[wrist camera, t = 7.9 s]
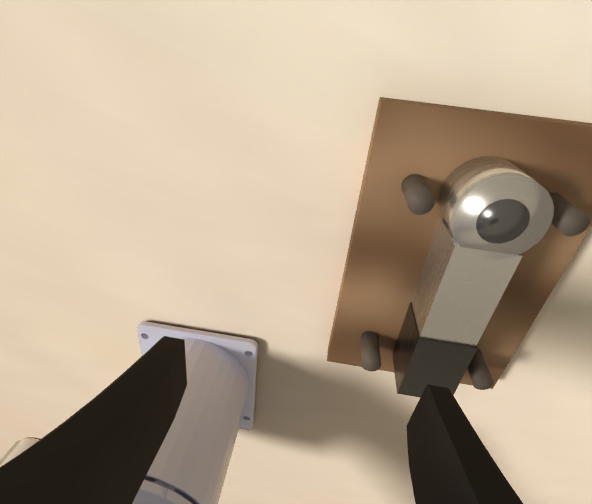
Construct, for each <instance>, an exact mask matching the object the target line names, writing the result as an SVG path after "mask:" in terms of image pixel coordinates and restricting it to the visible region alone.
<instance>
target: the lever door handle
mask: <svg viewBox="0 0 592 504" xmlns="http://www.w3.org/2000/svg"><path fill="white" fill-rule="evenodd" d="M439 206H440V210H441V212H442V214H443V216H444V218H440V221H439V223H438V226H437V229H436V232H435V235H434V238H433V241H432V244H431V246H430V249H429V252H428V255H427V258H426V261H425V264H424V267H423V269H422V272H421V275H420V278H419V281H418V284H417V287H416V290H415V293H414V295H413V298H412V301H411V302H410V304H409V307H408V310H407V313H406V316H405V319H404V321H403V324H402V327H401V330H400V333H399V336H398V339H397V342H396V345H395V347H394V350H393V353H392V357H393V364H394V372H395V379H396V387H397V393H398V394H404V395H410V396H416V397H421V396H422V394H423V391H424V389H425V387H426V385H427V384H429V385H434V386H440V387H445V388H449V390H450V391H451V393H452V394H453V395H454V393H455V391H456V389H457V387H458V385H459V383H460V381H461V379H462V377H463V376H464V374H465V372H466V370H467V368H468V366H469V364H470V362H471V360H472V358H473V356H474V354H475V353H476V351H477V349H478V348H477V344H478V342H479V340H480V338H481V336H482V334H483V332H484V330H485V328H486V326H487V324H488V322H489V320H490V318H491V316H492V314H493V313H494V311H495V309H496V307H497V305H498V303H499V301H500V299H501V297H502V295H503V293H504V291H505V289H506V287H507V285H508V284H509V282H510V280H511V278H512V276H513V274H514V272H515V270H516V268H517V266H518V264H519V262H520V260H521V258H522V255H521V253H523V252H525V251H527V250H528V249H530V248H531V247H533V246H534V245H535V244H537V243H538V242H539V241H540V240H541V239H542V238H543V236H544V235H545V234H546V232H547V231H548V229H549V227H550V225H551V223H552V219H553V214H554V205H553V201H552V198H551V196H550V194H549V193H548V191H547V190H546V189H545V188H544V187H543V186H541V185H540V184H539V183H538V182H536V181H535V180H534V179H532V178H531V177H530V176H529V175H527V174H526V173H525V172H523V171H522V170H521V169H520V168H518V167H517V166H516V165H514V164H513V163H512V162H510V161H509V160H507V159H504V158H501V157H497V156H483V157H478V158H474V159H471V160H469V161H467V162H465V163H463V164H461V165H460V166H458V167H457V168H456V169H455V170H453V171H452V172H451V173H450V174H449V176H448V177H447V178H446V180H445V181H444V183H443V185H442V187H441V190H440V194H439Z"/></svg>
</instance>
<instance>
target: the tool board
mask: <svg viewBox="0 0 592 504" xmlns="http://www.w3.org/2000/svg"><path fill="white" fill-rule="evenodd" d="M483 156H497V157H501V158H504V159H507V160H509V161H510V162H512V163H513V164H514V165H516V166H517V167H518V168H520V169H521V170H522V171H523V172H525V173H526V174H527V175H529V176H530V177H531V178H532V179H534V180H535V181H536V182H538V183H539V184H540V185H541V186H543V187H544V188H545V189H546V190H547V191H548V193H549V194H550V196H551V198H552V201H553V205H554V214H553V219H552V223H551V225H550V227H549V229H548V231H547V232H546V234H545V235H544V236H543V238H542V239H541V240H540V241H539V242H538V243H537V244H535V245H534V246H533V247H531V248H530V249H528V250H527V251H525V252H523V253H521V255H522V258H521V260H520V262H519V264H518V266H517V268H516V270H515V272H514V274H513V276H512V278H511V280H510V282H509V284H508V285H507V287H506V289H505V291H504V293H503V295H502V297H501V299H500V301H499V303H498V305H497V307H496V309H495V311H494V313H493V314H492V316H491V318H490V320H489V322H488V324H487V326H486V328H485V330H484V332H483V334H482V336H481V338H480V340H479V342H478V344H477V348H478V349H477V351H476V353H475V354H474V356H473V358H472V360H471V362H470V364H469V366H468V368H467V370H466V372H465V374H464V376H463V377H462V379H461V381H460V383H461V384H467V385H473V386H474V387H475V388H476V389H480V390H485V389H489V388H491V389H493V387H494V386H495V384H496V382H497V381H498V379H499V377H500V376H501V374H502V372H503V371H504V369H505V367H506V366H507V364H508V363H509V361H510V359H511V358H512V356H513V354H514V353H515V351H516V349H517V348H518V346H519V344H520V343H521V341H522V339H523V338H524V336H525V334H526V333H527V331H528V329H529V328H530V326H531V325H532V323H533V321H534V320H535V318H536V316H537V315H538V313H539V311H540V310H541V308H542V306H543V305H544V303H545V301H546V300H547V298H548V296H549V295H550V293H551V291H552V290H553V288H554V287H555V285H556V283H557V282H558V280H559V278H560V277H561V275H562V273H563V272H564V270H565V268H566V267H567V265H568V263H569V262H570V260H571V258H572V257H573V255H574V253H575V252H576V250H577V249H578V247H579V245H580V244H581V242H582V240H583V239H584V237H585V235H586V234H587V232H588V230H589V229H590V227H591V225H592V123H584V122H576V121H568V120H560V119H552V118H544V117H536V116H527V115H519V114H511V113H503V112H495V111H487V110H479V109H471V108H463V107H455V106H447V105H439V104H430V103H422V102H414V101H406V100H398V99H390V98H382V97H380V99H379V104H378V108H377V113H376V118H375V123H374V128H373V133H372V138H371V142H370V147H369V152H368V157H367V162H366V167H365V172H364V177H363V181H362V186H361V191H360V196H359V201H358V206H357V211H356V215H355V220H354V225H353V230H352V235H351V240H350V245H349V249H348V254H347V259H346V264H345V269H344V274H343V279H342V283H341V288H340V293H339V298H338V303H337V308H336V313H335V318H334V322H333V327H332V332H331V337H330V342H329V347H328V357H327V361H330V362H336V363H342V364H348V365H354V366H360V367H363V368H364V369H365V370H368V371H376V370H384V371H390V372H394V364H393V357H392V353H393V350H394V347H395V345H396V342H397V339H398V336H399V333H400V330H401V327H402V324H403V321H404V319H405V316H406V313H407V310H408V307H409V304H410V302H411V301H412V298H413V295H414V293H415V290H416V287H417V284H418V281H419V278H420V275H421V272H422V269H423V267H424V264H425V261H426V258H427V255H428V252H429V249H430V246H431V244H432V241H433V238H434V235H435V232H436V229H437V226H438V223H439V221H440V218H444V216H443V214H442V212H441V210H440V206H439V194H440V190H441V187H442V185H443V183H444V181H445V180H446V178H447V177H448V176H449V174H450V173H451V172H452V171H453V170H455V169H456V168H457V167H458V166H460V165H461V164H463V163H465V162H467V161H469V160H471V159H474V158H478V157H483Z"/></svg>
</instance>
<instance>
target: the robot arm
mask: <svg viewBox="0 0 592 504" xmlns="http://www.w3.org/2000/svg"><path fill="white" fill-rule="evenodd" d="M137 332H138V337H139V342H140V348H141V353H142V357H141V358H140V359H138V360H137V361H136V362H135V363H134V364H133V365H132V366H131V367H130V368H129V369H127V370H126V371H125V372H124V373H123V374H122V375H121V376H119V377H118V378H117V379H116V380H115V381H114V382H113V383H111V384H110V385H109V386H108V387H107V388H106V389H104V390H103V391H102V392H101V393H100V394H99V395H97V396H96V397H95V398H94V399H92V400H91V401H90V402H89V403H87V404H86V405H85V406H84V407H82V408H81V409H80V410H79V411H77V412H76V413H75V414H74V415H72V416H71V417H70V418H69V419H67V420H66V421H65V422H63V423H62V424H61V425H59V426H58V427H57V428H55V429H54V430H53V431H51V432H50V433H49V434H47V435H46V436H45V437H43V438H42V439H40V440H39V441H38V442H36V443H35V444H33V445H32V446H31V447H29V448H28V449H26V450H25V451H23V452H22V453H21V454H19V455H18V456H16V457H15V458H13V459H12V460H10V461H9V462H7V463H5V464H4V465H2V466H1V467H0V504H218V501H219V497H220V494H221V490H222V486H223V483H224V479H225V476H226V472H227V469H228V465H229V462H230V458H231V454H232V451H233V447H234V444H235V440H236V437H237V433H238V430H239V428H240V429H246V430H249V429H251V428H252V427H253V423H254V406H255V388H256V370H257V353H258V344H257V342H256V341H254V340H252V339H248V338H242V337H236V336H230V335H224V334H218V333H212V332H206V331H200V330H194V329H188V328H182V327H176V326H170V325H164V324H158V323H152V322H141V323H140V324H139V325H138V326H137ZM248 351H250V352H248ZM407 441H408V457H409V467H410V473H411V479H412V485H413V491H414V497H415V503H416V504H523V503H522V501H521V500H520V498H519V497H518V496H517V494H516V493H515V491H514V490H513V488H512V487H511V486H510V484H509V483H508V481H507V480H506V478H505V477H504V475H503V474H502V472H501V471H500V469H499V468H498V466H497V465H496V463H495V462H494V460H493V459H492V457H491V456H490V454H489V453H488V451H487V449H486V448H485V446H484V445H483V443H482V442H481V440H480V438H479V437H478V435H477V434H476V432H475V430H474V429H473V427H472V426H471V424H470V422H469V421H468V419H467V417H466V416H465V414H464V413H463V411H462V409H461V408H460V406H459V404H458V403H457V401H456V399H455V398H454V396H453V394H452V393H451V391H450V390H449V388H445V387H440V386H434V385H429V384H427V385H426V387H425V389H424V391H423V394H422V396H421V398H420V400H419V402H418V404H417V406H416V408H415V410H414V412H413V414H412V416H411V418H410V420H409V422H408V424H407Z"/></svg>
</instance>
